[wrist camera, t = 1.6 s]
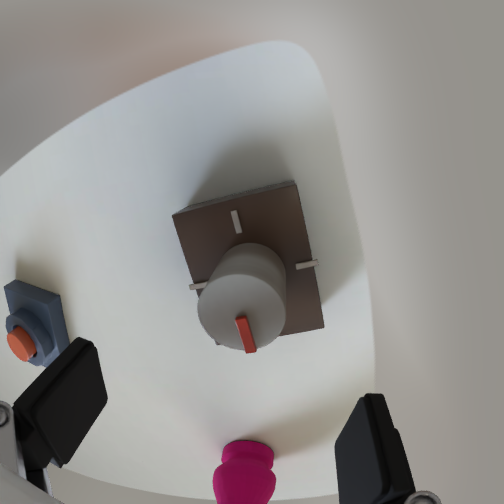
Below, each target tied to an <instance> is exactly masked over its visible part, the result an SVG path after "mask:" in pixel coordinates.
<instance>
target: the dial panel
mask: <svg viewBox="0 0 504 504" xmlns="http://www.w3.org/2000/svg"><path fill="white" fill-rule="evenodd" d="M172 218H173V221H174V224H175V228H176V231H177V234H178V237H179V240H180V243H181V247H182V250H183V253H184V256H185V259H186V262H187V265H188V268H189V271H190V274H191V277H192V280H193V283H194V284H191V285H189V287H190V290H194V289H196V291H197V294H198V297H200V295H201V293H202V291H203V289H204V287H205V286H206V284H207V282H208V281H209V279H210V277H211V275H212V274H213V272H214V270H215V269H216V267H217V265H218V263H219V262H220V260H221V258H222V257H223V255H224V254H225V253H226V252H227V251H228V250H230V249H231V248H233V247H234V246H237V245H239V244H243V243H257V244H261V245H264V246H266V247H268V248H270V249H271V250H273V251H274V252H275V253H276V254H277V255H278V256H279V257H280V259H281V260H282V262H283V264H284V267H285V271H286V321H285V325H284V327H283V329H282V331H281V333H280V334H279V336H283V335H289V334H295V333H300V332H306V331H311V330H316V329H321V328H324V321H323V315H322V309H321V303H320V298H319V292H318V286H317V281H316V276H315V270H314V266H317V265H318V260H317V259H316V260H312V255H311V250H310V245H309V240H308V235H307V230H306V225H305V221H304V216H303V212H302V207H301V203H300V198H299V194H298V190H297V185H296V183H295V181H294V180H293V181H289V182H284V183H280V184H275V185H271V186H267V187H262V188H258V189H254V190H250V191H246V192H242V193H238V194H234V195H230V196H226V197H222V198H218V199H214V200H211V201H207V202H203V203H199V204H196V205H192V206H188V207H186V208H184V209H182V210H180V211H179V212H177V213H175V214H173V215H172ZM215 343H216V345H222V344H220V343H218V342H216V341H215Z"/></svg>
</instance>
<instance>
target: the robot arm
mask: <svg viewBox="0 0 504 504" xmlns="http://www.w3.org/2000/svg"><path fill="white" fill-rule="evenodd" d="M107 399H108V396H107V392H106V388H105V384H104V380H103V376H102V371H101V367H100V362H99V357H98V352H97V348H96V347H94V344H93V342H91V341H88V340H86V339H83V338H80V337H77V338H76V339H75V340H74V341H73V342H72V343H71V344H70V345H69V346H68V347H67V348H66V349H65V350H64V351H63V352H62V353H61V354H60V355H59V356H58V357H57V358H56V359H55V360H54V361H53V362H52V363H51V364H50V365H49V366H48V367H47V368H46V369H45V370H44V371H43V372H42V373H41V374H40V375H39V376H38V377H37V378H36V379H35V380H34V382H33V383H32V384H31V385H30V386H29V387H28V388H27V389H26V390H25V391H24V392H23V393H22V394H21V395H20V397H19V398H18V399H17V400H16V401H15V402H14V403H13V404H14V406H13V407H11V406H10V405H9V404H8V403H6V402H4V401H0V504H64V503H62V502H61V501H59V500H57V499H55V498H54V496H53V493H52V488H51V485H50V480H49V476H48V471H47V465H48V464H49V462H51V463H52V464H54V465H56V466H58V467H59V468H62V466H63V464H67V463H68V462H69V461H70V459H71V458H72V456H73V455H74V453H75V451H76V450H77V448H78V447H79V445H80V444H81V442H82V440H83V439H84V437H85V436H86V434H87V433H88V431H89V429H90V428H91V426H92V425H93V423H94V422H95V420H96V419H97V417H98V416H99V414H100V413H101V411H102V409H103V408H104V406H105V405H106V403H107ZM335 459H336V469H337V479H338V491H339V503H340V504H441V501H440V499H439V498H438V497H437V496H436V495H435V494H434V493H432V492H429V491H418V492H416V490H415V486H414V482H413V478H412V474H411V471H410V467H409V464H408V460H407V457H406V454H405V450H404V447H403V443H402V440H401V437H400V434H399V432H398V430H397V429H396V428H394V425H393V422H392V419H391V416H390V413H389V410H388V407H387V404H386V401H385V398H384V395H383V394H372V393H367V394H365V396H364V397H361V398H359V400H358V402H357V404H356V406H355V408H354V410H353V412H352V413H351V415H350V417H349V419H348V421H347V423H346V424H345V426H344V428H343V430H342V431H341V433H340V435H339V437H338V438H337V440H336V442H335Z"/></svg>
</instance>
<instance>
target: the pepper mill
mask: <svg viewBox="0 0 504 504" xmlns="http://www.w3.org/2000/svg"><path fill="white" fill-rule="evenodd" d="M273 459H274V453H273V451H272V450H271V449H270V448H269V447H267V446H266V445H264V444H261V443H258V442H253V441H236V442H232V443H229V444H228V445H226V446H225V447H224V450H223V454H222V459H221V460H222V463H223V464H221V465H220V466H218V467H217V468H216V470H215V472H214V475H213V489H214V493H215V497H216V500H217V504H267V503H268V501H269V500H270V498H271V497H272V495H273V492H274V490H275V485H276V477H275V475H274V473H273V472H272V471H271V470H270V469H271V468H272V466H273Z"/></svg>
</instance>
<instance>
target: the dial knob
mask: <svg viewBox="0 0 504 504" xmlns="http://www.w3.org/2000/svg"><path fill="white" fill-rule="evenodd" d="M198 317H199V320H200V323H201V325H202V327H203V328H204V330H205V331H206V332H207V334H208V335H209V336H210V337H211V338H212V339H214V340H215V341H216V342H218V343H220V344H222V345H224V346H226V347H229V348H232V349H237V350H245V352H246V353H254V352H256V351H257V349H258V348H261V347H264V346H266V345H268V344H269V343H271V342H272V341H273V340H275V339H276V338H277V337H278V336H279V334H280V333H281V331H282V329H283V327H284V325H285V321H286V271H285V267H284V264H283V262H282V260H281V259H280V257H279V256H278V255H277V254H276V253H275V252H274V251H273V250H271V249H270V248H268V247H266V246H264V245H261V244H257V243H243V244H239V245H237V246H234V247H233V248H231V249H230V250H228V251H227V252H226V253H225V254H224V255H223V257H222V258H221V260H220V262H219V263H218V265H217V267H216V269H215V270H214V272H213V274H212V275H211V277H210V279H209V281H208V282H207V284H206V286H205V287H204V289H203V291H202V293H201V295H200V297H199V300H198Z"/></svg>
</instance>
